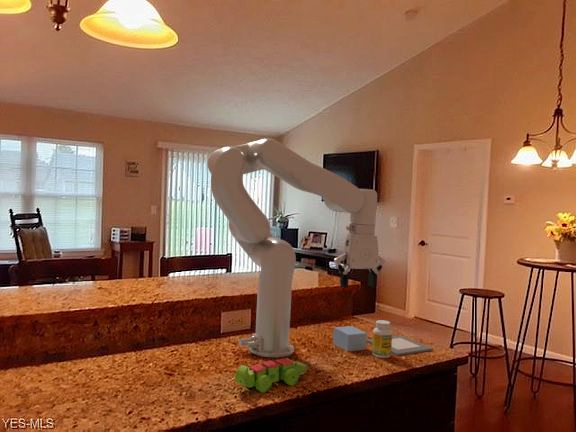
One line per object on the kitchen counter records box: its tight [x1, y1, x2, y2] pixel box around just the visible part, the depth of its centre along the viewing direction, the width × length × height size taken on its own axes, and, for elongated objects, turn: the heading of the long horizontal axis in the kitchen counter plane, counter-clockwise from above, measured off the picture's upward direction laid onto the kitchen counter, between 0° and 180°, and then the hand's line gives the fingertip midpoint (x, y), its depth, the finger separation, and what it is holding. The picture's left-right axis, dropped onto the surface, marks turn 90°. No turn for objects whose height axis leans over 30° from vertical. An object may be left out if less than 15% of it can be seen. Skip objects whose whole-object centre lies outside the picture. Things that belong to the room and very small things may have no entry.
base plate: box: [366, 334, 434, 357], centre depth 147 cm, size 14×14×1 cm
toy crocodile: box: [234, 357, 308, 393], centre depth 112 cm, size 20×7×6 cm, turn 128°
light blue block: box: [332, 325, 368, 352], centre depth 144 cm, size 6×8×5 cm
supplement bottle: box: [371, 319, 393, 359], centre depth 137 cm, size 5×5×10 cm
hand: (357, 286), depth 145 cm, fingers open, 9 cm apart
